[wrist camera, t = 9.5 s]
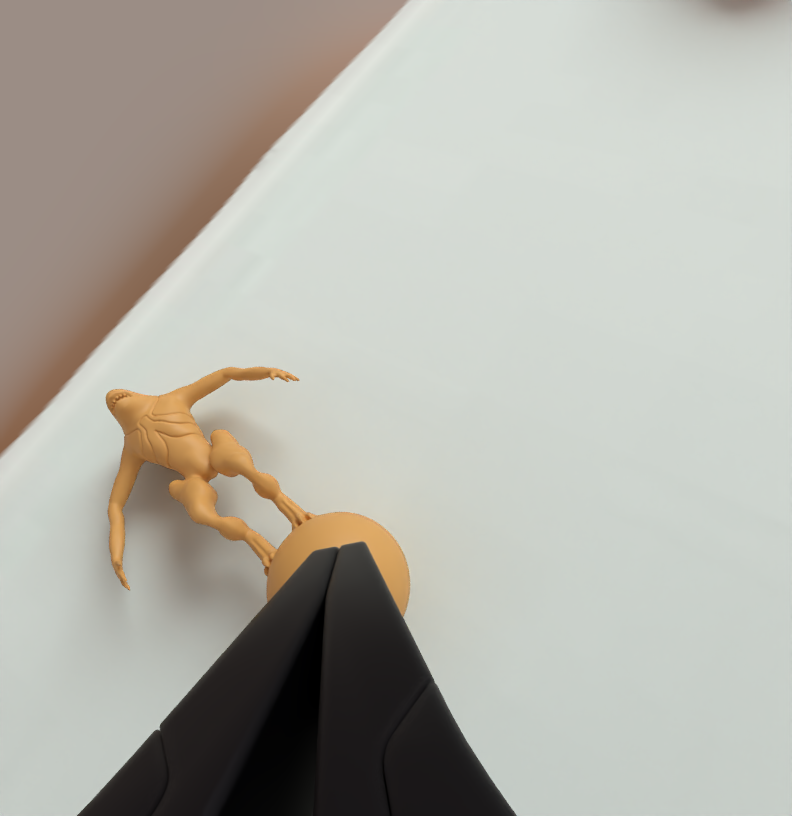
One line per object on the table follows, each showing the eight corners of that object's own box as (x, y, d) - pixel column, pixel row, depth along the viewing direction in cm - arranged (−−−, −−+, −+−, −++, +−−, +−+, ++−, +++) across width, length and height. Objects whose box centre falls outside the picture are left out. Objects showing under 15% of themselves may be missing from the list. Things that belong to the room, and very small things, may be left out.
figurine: (287, 805, 12) (-84, 486, 13) (321, 709, 18) (63, 496, 19) (494, 504, 13) (140, 245, 15) (461, 508, 19) (212, 324, 20)
